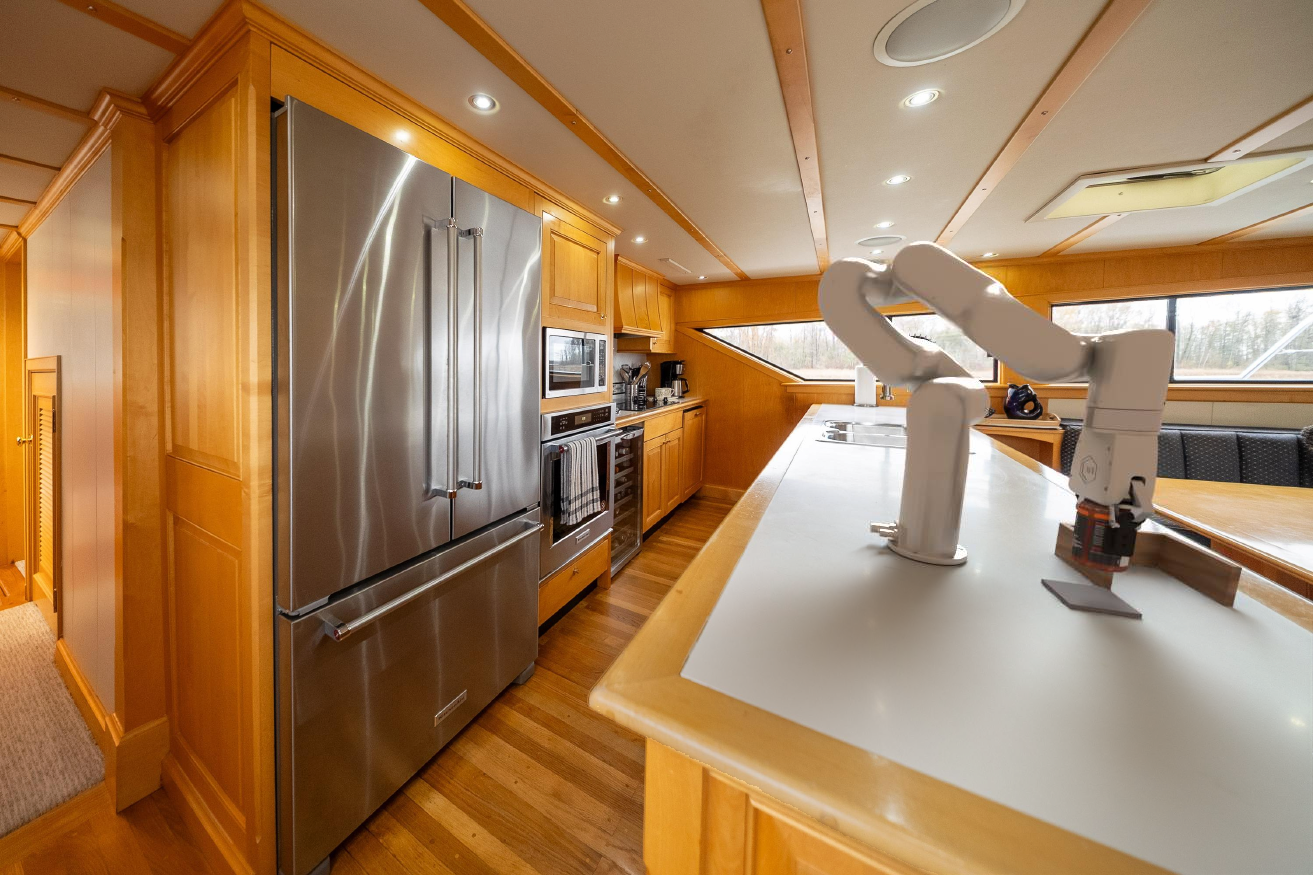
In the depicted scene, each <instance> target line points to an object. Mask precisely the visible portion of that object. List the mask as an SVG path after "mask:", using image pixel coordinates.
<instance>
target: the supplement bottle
mask: <svg viewBox="0 0 1313 875" xmlns="http://www.w3.org/2000/svg"><path fill="white" fill-rule="evenodd" d="M1119 504H1124V505H1129V504H1128V501H1121V502H1120V503H1119ZM1077 511H1078V512H1077ZM1077 511H1076V513H1077V518H1076V517H1075V519H1076V525H1075V532H1074V538H1073V545H1072V554H1071V557H1072V559H1073V560H1074V561H1075V562H1077V563H1079V564H1081V565H1083V566H1086V567H1089V568H1092V569H1096V570H1101V571H1107V572H1114V573H1123V572H1126V571H1127V570H1128V568H1129V566H1130V565H1129V560H1130V557H1123V556H1113V555H1105V554H1104V553H1102V552H1101V548H1102V542H1103V536H1104V529H1105V525H1107V526H1110V524H1109V513H1108V506H1104V505H1100V504H1098V503H1096V502H1093V501H1091V500H1089V499H1086V500H1083V501H1082V502H1080V503H1079V506H1078V510H1077ZM1125 512H1129V510H1119V517H1120V516H1121V515H1123V514H1124V513H1125Z"/></svg>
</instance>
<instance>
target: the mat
mask: <svg viewBox="0 0 1313 875" xmlns="http://www.w3.org/2000/svg"><path fill="white" fill-rule="evenodd" d="M1040 582H1041V584H1042V585H1044V587H1045V588H1047V589H1048V590H1049V591H1050V592H1051V593H1052V594H1054V596H1056V597H1057V598H1058V599H1059V600H1060V601H1061V602H1062V603H1063V604H1064V605H1065V606H1067V607H1068V608H1069V609H1073V610H1074V609H1075V610H1083V611H1090V612H1095V613H1102V614H1103V613H1104V614H1107V615H1116V616H1124V617H1130V618H1137V619H1142V618H1143V614H1142V613H1141V611H1138V610H1137V609H1136V608H1135V607H1133V606H1131V605H1130V604H1129V603H1128V602H1126V601H1125V600H1123V599H1122V598H1121V597H1119V596H1118V595H1116V594H1115V592H1112V591H1111V590H1108V589H1107V588H1106V587H1100V586H1097V585H1092V584H1083V583H1076V582H1068V581H1060V580H1054V579H1045V578H1041V580H1040Z"/></svg>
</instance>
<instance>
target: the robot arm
mask: <svg viewBox="0 0 1313 875" xmlns="http://www.w3.org/2000/svg"><path fill="white" fill-rule="evenodd" d="M913 302H919V303H920V304H922V305H923V306H925V307H926V308H927V309H929V310H931V312H933V313H934V314H936V315H937V316H939V318H941V319H943V320H944V321H946V322H947V323H948V324H949V325H951V326H953V327H954V328H955V329H956V330H957V331H958V332H959V333H960V334H962V335H964V336H966V337H967V338H968V339H969V340H970V341H971V342H972V343H974V344H975V345H976V346H978V347H979V348H980V349H982V350H983V351H984V352H986V353H987V354H989V355H990V356H991V357H993V358H994V359H996V360H997V361H999V363H1001V364H1002V365H1004V366H1005V367H1007V368H1008V369H1010V370H1011V371H1013V372H1014V373H1016V374H1017V375H1019V376H1020V377H1022V378H1023V379H1026V380H1027V381H1031V382H1033V383H1037V384H1050V385H1051V384H1066V383H1074V382H1075V383H1076V382H1088V387H1087V392H1086V401H1085V407H1084V413H1083V419H1082V420H1083V421H1082V427H1081V429H1082V430H1081V431H1080V434H1079V436H1078V440H1077V442H1076V446H1075V450H1074V454H1073V456H1072V457H1073V459H1072V463H1071V468H1070V471H1069V472H1070V473H1069V478H1068V484H1067V486H1068V488H1069V490H1070V491H1071V492H1072V493H1074V496H1075V497H1076V503H1075V509H1076V515H1075V519H1074V524H1075V525H1076V518H1077V512H1078V506H1079V503H1080V502H1082V501H1083V500H1086V499H1089V500H1091V501H1093V502H1096V503H1098V504H1100V505H1104V506H1108V513H1109V524H1110V526H1107V525H1105V529H1104V536H1103V542H1102V548H1101V552H1102V553H1104V554H1105V555H1113V556H1123V557H1132V556H1133V553H1134V547H1135V542H1136V536H1137V530H1139V531H1141V529H1142V524H1144V523H1145V522H1146V520H1147V519H1148V518H1150V517H1152V516H1153V515H1154V514H1155V512H1156V510H1155V506H1154V504H1153V502H1152V501H1153V499H1154V493H1155V490H1156V489H1155V488H1156V484H1157V482H1156V481H1157V473H1158V472H1157V471H1158V462H1159V461H1158V457H1159V452H1158V451H1159V445H1158V444H1159V443H1158V442H1159V441H1158V440H1159V439H1158V436H1160V435H1161V431H1162V430H1161V429H1162V423H1163V418H1164V414H1165V413H1164V412H1165V407H1166V401H1167V394H1168V388H1169V384H1170V377H1171V373H1172V366H1173V361H1174V356H1175V355H1174V354H1175V349H1176V336H1175V334H1174V333H1173V332H1172V331H1170V330H1167V329H1160V328H1137V329H1135V328H1134V329H1132V328H1130V329H1118V330H1113V331H1107V332H1104V333H1102V334H1086V333H1085V334H1083V333H1076V332H1075V333H1074V332H1071V331H1068V330H1067V329H1066V328H1063V327H1061V326H1059V325H1058V324H1056V323H1055V322H1053V321H1052V320H1050V319H1049V318H1046V317H1045V316H1043V315H1042V314H1040V313H1038V312H1036V311H1035V310H1034V309H1032V308H1030V307H1029V306H1027V305H1025V304H1024V303H1022V302H1021V301H1020V300H1018V299H1016V298H1015V297H1014V296H1012V295H1011V294H1010V293H1009V292H1008V291H1007V289H1006V288H1005V286H1004V285H1003V284H1002V283H1000V282H999V281H998V280H996V279H995V278H993V277H991V276H989V275H988V274H986V273H984V272H983V271H981V270H979V269H977V268H976V267H975V266H973V265H971V264H970V263H968V262H966V261H964V260H962V259H961V258H959V257H958V256H956V255H955V254H954V253H952V252H951V251H950V250H948V249H946V248H943V247H942V246H940V245H939V244H936V243H935V242H934V243H933V242H930V241H923V240H922V241H916V242H913V243H910V244H908V245H905V247H903V248H902V249H900V250H899V252H897V254H896V255H895V257H894V258H893V260H892V262H891V263H889V262H888V263H885V264H881V265H880V264H878V263H874V262H872V261H869V260H865V259H862V258H859V257H858V258H857V257H845V258H842V259H838V260H836V261H834V262H833V263H831V264H829V265H828V266H827V268H826V269H825V271H824V272H823V273H822V275H821V278H820V281H819V284H818V290H817V304H818V310H819V314H820V315H821V318H822V319H823V321H824V323H825V325H826V326H827V328H828V329H829V330H830V331H831V332H832V334H834V335H835V337H837V339H838V340H839V341H841V343H843V344H844V346H846V348H847V349H848V350H849V351H850V352H851V353H852V354H853V355H854V356H855V358H857V359H858V360H859V362H861V364H863V366H865V367H866V368H867V369H868V371H869V372H871V374H872V375H873V376H874V377H875V378H876V379H877V380H878V381H879V382H880V383H881V384H882V385H884V386H886V387H888V388H891V389H906V390H907V391H909V393H911V395H910V396H909V398H908V401H907V403H906V409H905V410H906V411H905V412H906V413H905V420H906V421H905V422H906V423H905V424H906V449H905V460H904V470H903V480H902V489H901V498H900V506H899V508H900V509H899V516H898V519H897V518H894V522H889V523H888V524H885V523H879V522H870V526H869V532H870V533H874V534H878V535H879V537H881V538H887V542H886V544H887V546H888V547H889V548H890V549H891V550H892V551H893V552H895V553H897V554H899V555H900V556H903V557H906V558H909V559H911V560H914V561H918V562H922V563H926V564H927V563H928V564H934V565H942V566H943V565H945V566H953V565H954V566H955V565H959V564H963V563H965V562H966V561H967V560H968V551H967V550H966V549H965V548H964V547H963V546H961V545H960V544H959V538H960V530H961V524H962V517H963V516H962V514H963V509H964V502H965V501H964V500H965V492H966V486H967V477H968V468H969V460H970V446H971V445H970V440H971V439H970V427H973V426H975V425H977V424H978V423H980V422H982V421H983V420H984V419H985V417H986V416H987V415H988V413H989V411H990V408H991V398H990V393H989V392H988V391H989V390H987V388H986V386H984V385H983V384H982V382H981V381H979V380H978V379H977V378H976V377H975V376H974V375H973V374H972V373H970V372H969V371H968V370H967V369H966V368H965V367H963V366H962V365H961V364H960V363H958V361H956V360H955V359H954V358H953V357H952V356H951V355H950V354H949V353H947V352H946V351H945V350H943V349H942V348H941V347H939V345H937V344H935V343H934V342H931V341H929V340H926V339H921V338H915V337H912V336H910V335H907V334H906V333H905V332H903V331H902V330H901V329H899V327H897V326H896V325H895V324H894V323H892V322H891V321H890V320H889V319H888V317H887V316H885V315H884V314H883V313H881V312H880V311H879V310H878V309H876V308H883V307H889V306H890V307H891V306H895V305H900V304H906V303H913ZM1121 501H1128V504H1129V505H1124V504H1119V503H1120V502H1121ZM1119 510H1129V512H1125V513H1124V514H1123V515H1121V516H1120V517H1119ZM1074 532H1075V526H1074ZM1073 535H1074V533H1073Z"/></svg>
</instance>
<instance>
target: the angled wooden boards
mask: <svg viewBox="0 0 1313 875" xmlns="http://www.w3.org/2000/svg"><path fill="white" fill-rule="evenodd" d="M1074 526H1075V523H1067V522H1059V524H1058V531H1057V536H1056V542H1055V547H1054V555H1055V556H1056V557H1058V558H1059V559H1060V560H1062V561H1063V562H1065V563H1066V564H1067V565H1069V566H1070V567H1071V568H1073V569H1074V570H1076V571H1077V572H1078V573H1079V574H1081V575H1082V576H1083V577H1085V578H1087V579H1088V580H1089V581H1090V582H1092V583H1093V584H1095V586H1100V587H1106V588H1107V589H1108V590H1110V591H1111V590H1112V584H1113V580H1114V579H1113V578H1114V575H1115V574H1114V573H1115V572H1107V571H1101V570H1096V569H1092V568H1089V567H1086V566H1083V565H1081V564H1079V563H1077V562H1075V561H1074V560H1073V559H1072V557H1071V554H1072V545H1073V538H1074V535H1073V533H1074ZM1130 565H1131V566H1139V567H1146V566H1147V567H1148V568H1156V569H1158V570H1160V571H1162V572H1164V573H1165V574H1167V575H1168V576H1170V577H1172V576H1173V577H1172V578H1173V579H1176V580H1178V581H1180V582H1181V583H1183V584H1185V585H1186V586H1188V587H1190V588H1192V589H1193V590H1195V591H1197V592H1199V593H1200V594H1202V595H1204V596H1206V597H1208V598H1210V599H1211V600H1213V601H1215V602H1216V603H1218V604H1220V605H1222V606H1224V607H1231V608H1233V607H1234V603H1235V599H1236V595H1237V591H1238V588H1239V587H1238V586H1239V584H1240V578H1241V575H1242V570H1243V567H1242V566H1239V565H1238V564H1235V563H1233V562H1231V561H1228V560H1226V559H1224V558H1223V557H1221V556H1218V555H1215V554H1213V553H1211V552H1209V551H1206V550H1205V549H1202V548H1200V547H1197V546H1196V545H1193V544H1192V543H1189V542H1186V541H1184V540H1182V539H1180V538H1178V537H1176V536H1173V535H1171V534H1170V533H1167V532H1156V531H1149V530H1148V531H1145V530H1137V536H1136V542H1135V547H1134V553H1133V556H1132V557H1130V560H1129V565H1128V566H1130Z"/></svg>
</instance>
